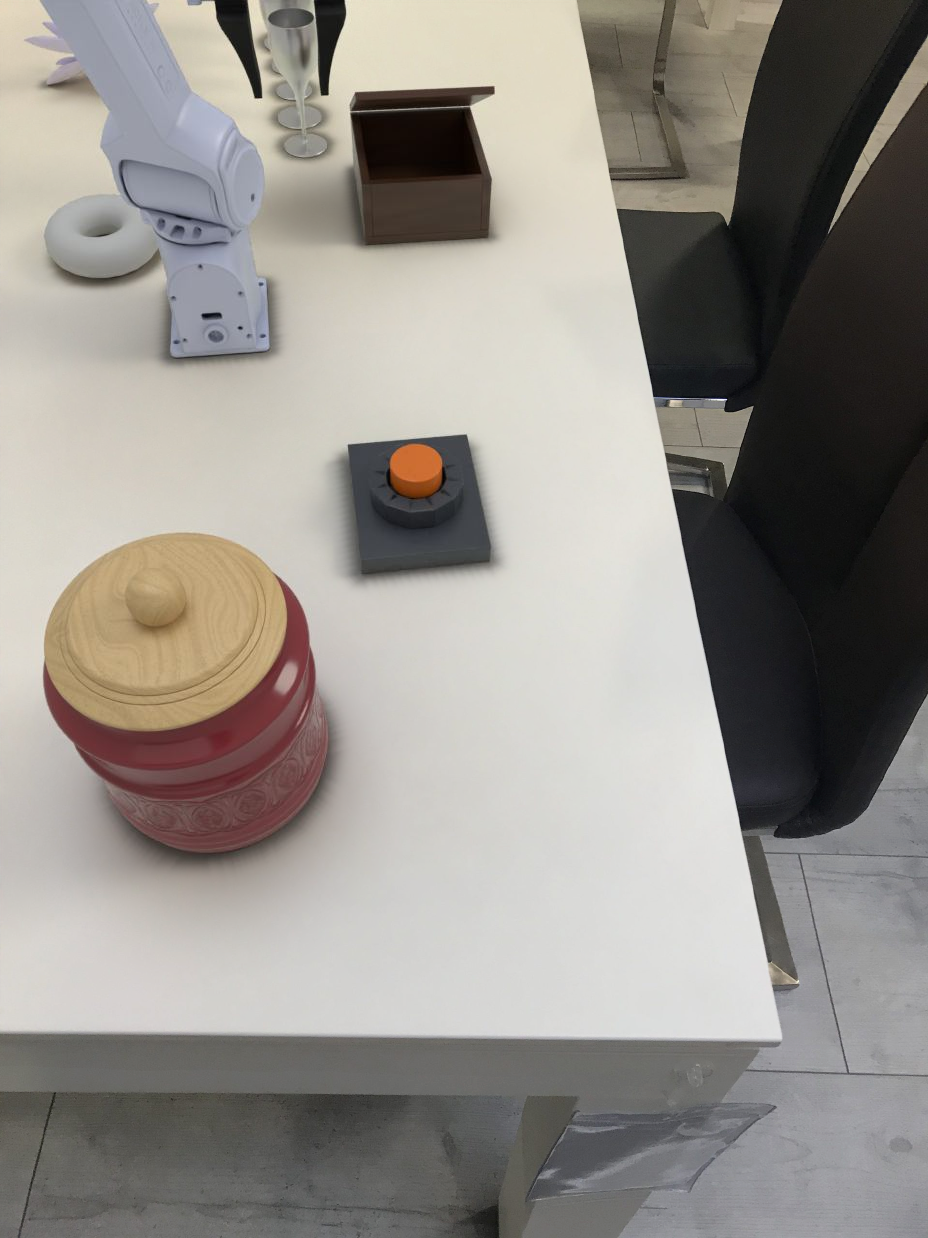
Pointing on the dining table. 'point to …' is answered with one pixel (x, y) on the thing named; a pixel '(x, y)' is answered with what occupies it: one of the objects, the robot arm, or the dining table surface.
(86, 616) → the kitchen canister
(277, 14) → the goblet set
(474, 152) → the brown wooden box
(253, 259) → the robot arm
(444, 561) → the control block
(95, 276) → the donut
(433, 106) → the lid
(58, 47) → the water lily
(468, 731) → the dining table surface
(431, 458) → the button
